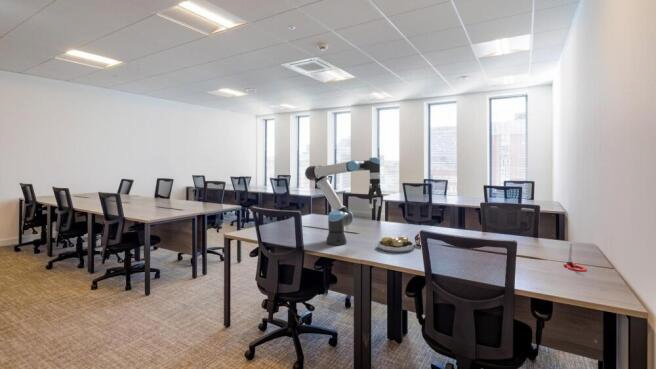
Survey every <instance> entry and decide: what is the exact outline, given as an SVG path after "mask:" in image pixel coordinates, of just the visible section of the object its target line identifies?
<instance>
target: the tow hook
mask: <svg viewBox="0 0 656 369" xmlns="http://www.w3.org/2000/svg"><path fill="white" fill-rule="evenodd" d="M572 254H573V244H572V243H569V250H568V257H567V261H566V263H565V264H562V265H563V267H564V268H567V269H568V270H571V271H575V272H587V268H586V267H585V266H582V265H578V264H576V263H574V262H573V258H572ZM579 268H580V269H579Z"/></svg>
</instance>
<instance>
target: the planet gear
mask: <svg viewBox="0 0 656 369" xmlns="http://www.w3.org/2000/svg"><path fill="white" fill-rule="evenodd" d="M386 237H388V239H386ZM393 239H394V238H393V237H391V236H382V238H381V240H382V245H384V246H392V241H393Z"/></svg>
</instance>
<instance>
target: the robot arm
mask: <svg viewBox="0 0 656 369" xmlns="http://www.w3.org/2000/svg"><path fill="white" fill-rule="evenodd" d="M380 159H381V158H380V157H369V159H367V160H362V159H361V160H359V159H358V160H355V159H353V160H350V161H344V162H340V163H339V162H338V163H333V164H327V165H310V166H308V167H307V168H306V169H305V170H304V171H305V172H304V175H305V177H306V179H307V180H308V181H313V182H314V183H315V185H316V186H319V188H320V189H321V191H322V193H323V195H324V196H325V198H326V200H327V202H328V204H329V205H330V207H331V209H332V211H330V212H329V213H328V215H327V220H328V221H327V222H328V223H327V225H328V229H327V230H328V234H327V236H326V240H325V241H326V242H325V243H326V245H328V246H343V245H347V243H348V240H347V237H346V235H345V227H347V226H350V225H351V224H352V223H353V222H354V214H353V212H352V211H351V210H350V209H348V208H347V206H346V205H343V203H342V201H341V199H340V198H339V196H338V194H337V193H336V191H335V189H334V188H333V186H332V184H331V183H330V181H329V178H330V177H329V176H333V175H339V174H344V173H349V172H351V173H353V172H357V171H359V172H361V171H369V187H368V194H367V200H368V205H369V206H368V207H369V209H374V199H373V197H374V195H376V207H377V206H378V207H381V206H382V205H381V204H382V203H381V202H382V201H381V200H382V199H381V198H382V197H383V193H382V190H381V171H380V170H381V169H380V168H381V160H380Z"/></svg>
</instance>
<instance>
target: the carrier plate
mask: <svg viewBox="0 0 656 369" xmlns="http://www.w3.org/2000/svg"><path fill="white" fill-rule="evenodd" d="M385 237H386V239H388V237H389V236H385ZM377 248H378V250H380V251H382V252H385V253H391V254H403V253H404V254H406V253H411V252H413V251H414V250H415V242H413V241H411V240H409V237H407V236H399V237H397V238H395V237H394V238H393V241H392V246H384V245H382V239H381V240H379V241H378V242H377Z"/></svg>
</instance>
